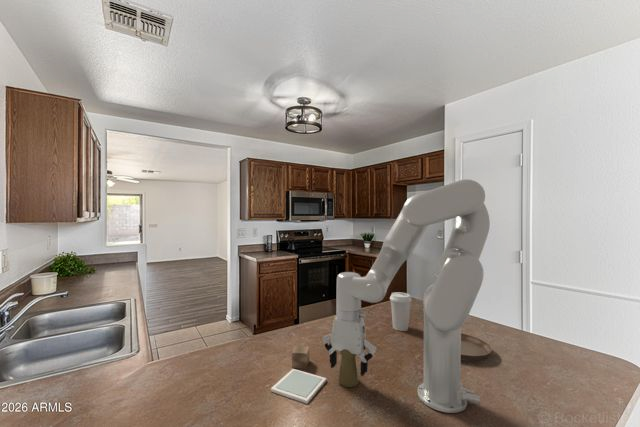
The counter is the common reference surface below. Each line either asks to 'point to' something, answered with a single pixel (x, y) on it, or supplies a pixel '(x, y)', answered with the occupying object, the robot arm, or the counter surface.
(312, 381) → the plate
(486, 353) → the plant saucer
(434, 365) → the robot arm
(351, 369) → the olive rounded tall piece
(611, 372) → the counter surface
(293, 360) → the walnut block
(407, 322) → the coffee cup
